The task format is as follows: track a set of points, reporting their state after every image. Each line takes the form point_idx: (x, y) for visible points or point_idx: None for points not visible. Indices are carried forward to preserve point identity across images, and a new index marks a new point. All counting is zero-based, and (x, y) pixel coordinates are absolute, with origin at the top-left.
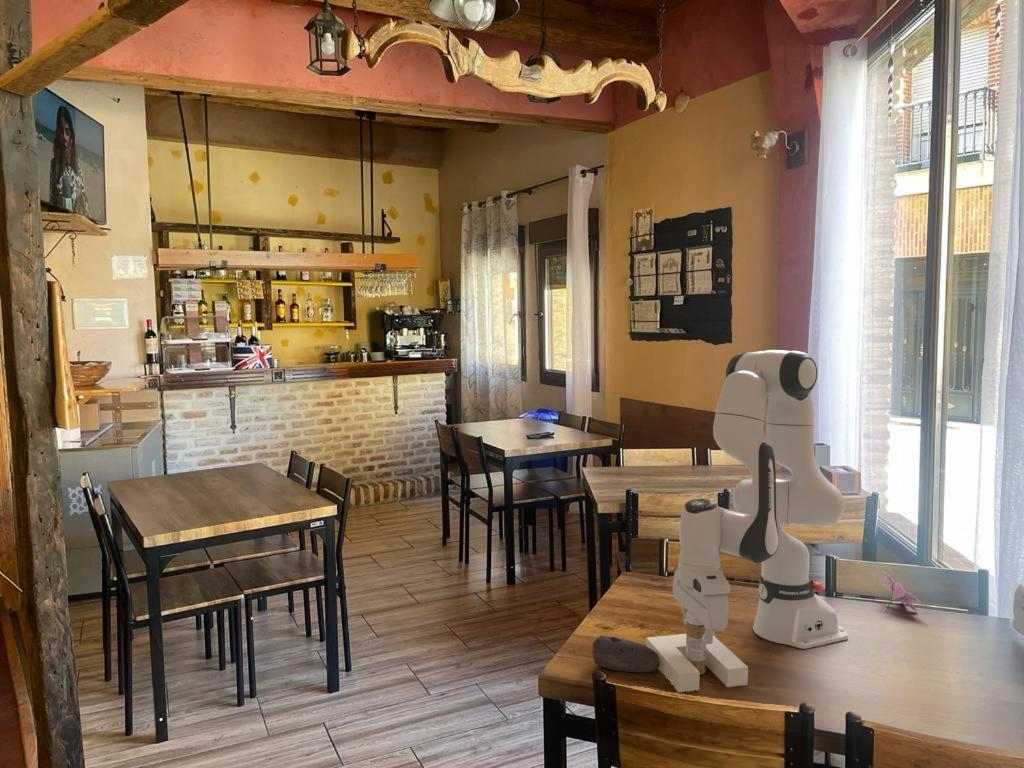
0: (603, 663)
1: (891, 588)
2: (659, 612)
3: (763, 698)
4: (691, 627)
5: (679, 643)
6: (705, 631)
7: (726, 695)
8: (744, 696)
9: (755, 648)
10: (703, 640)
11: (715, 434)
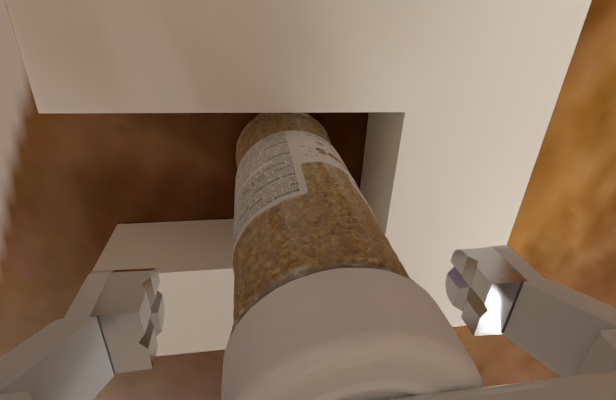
0: None
1: None
2: None
3: (22, 312)
4: (278, 265)
5: (436, 152)
6: (8, 370)
7: (37, 192)
8: (33, 257)
9: None
10: (119, 275)
11: None
